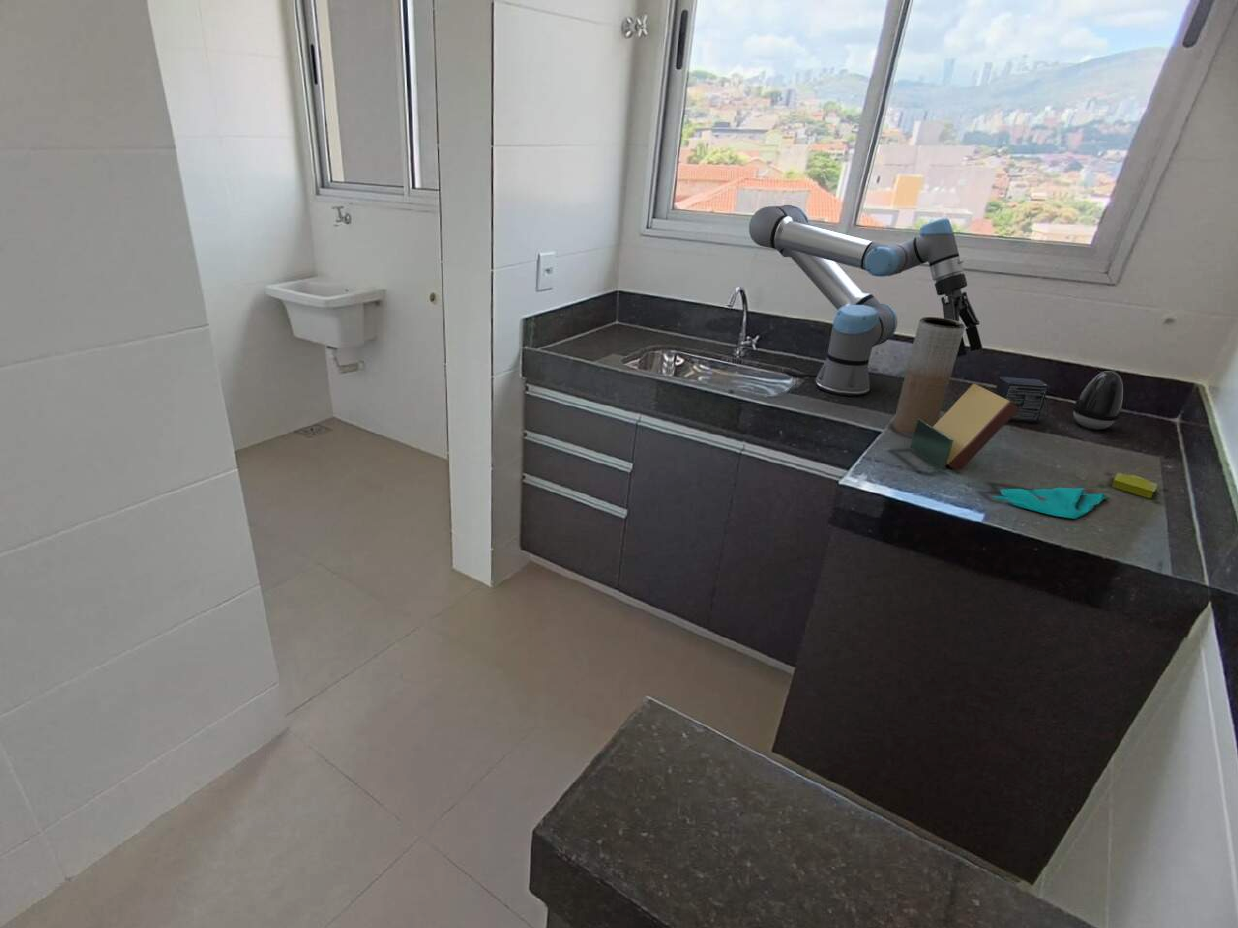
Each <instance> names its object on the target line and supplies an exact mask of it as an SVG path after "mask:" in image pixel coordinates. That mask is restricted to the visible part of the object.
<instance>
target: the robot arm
mask: <svg viewBox="0 0 1238 928" xmlns="http://www.w3.org/2000/svg"><path fill="white" fill-rule="evenodd" d="M808 217H809V216H808V215H807V214H806V212H805V211H804V210H803V209H802V208H801V207H799V206H797V205H792V204H782V205H768V206H764V207H761V208H759V209H758V210H756V211H755V213H753V215H752V216H751V218H750V220H749V224H748V234H749V236H750V239H751V240H752V241H753V242H754V243H755V244H756V245H757V246H760V247H764V248H769V249H773V250H777V252H778V253H779V254H780V255H781V256H782V257H783V258H791V259H792V261H793V262H794V263H795V264H796V265H797V266H798V267H799V269H801V271H802V272H803V273H804V274H805V275H806V276H807V277H808V279H809V280H810V281H811V282H812V283H813V284H814V286H816V287H817V289H818V290H819V291H820V292H821V294H822V295H823V296H824V297H825V298H826V299H827V300H828V302H829V303H830V304H831V305H832V306H833V307H834V308H835V309H836V312H835V314H834V315H835V316H834V318H833V320H832V328H831V334H830V339H829V343H828V349H827V355H826V359H825V361H824V363H823V364H822V366H821V368H820V369H819V372H818V373H797V372H793V371H790V370H786V372H785V374H787V375H790V376H792V377H793V376H794V377H799V378H815V382H814V385H815V387H816V388H818V389H819V390H820V391H823V392H826V393H829V394H833V395H837V396H844V397H861V396H866V395H867V394H869V392H870V388H871V387H870V385H871V384H870V383H871V382H870V375H869V374H870V373H869V361H870V359H871V353H872V350H873V349H872V348H874V347H876V346H879V345H882V344H884V343H886V342H887V341H888V340H889V339H891V338H892V337H893V336H894V334H895V332H896V330H897V327H898V316H897V313H896V312H895V310H894V309H893V308H892V306H889V305H888V304H885V303H881V302H880V301H878V299H877V298H876V297H875V296H874V294H872V293H871V292H870V293H869V292H867V293H866V292H863V291H862V290H861V288H859V286H858V285H857V284H856V283H855V282H854V281H853V280H852V278H851V277H850V276H849V275H848V274H847V273H846V272H845V271H844V270H843V269H842V267H841V266H840V265H839V264H841V265H845V266H849V267H853V268H856V269H860V270H862V271H865V272H868V274H870V275H871V276H874V277H883V278H884V277H891V276H894V275H898V274H901V273H903V272H905V271H908V270H911V269H913V268H915V267H918V266H920V265H924V264H926V263H928V265H929V269H930V272H931V277H932V280H933V281H934V282H935V283H934V287H935V292H936V294H937V296H942V297H941V299H940V300H941V304H942V305H941V306H942V312H943V318H945V319H951V320H955V321H958V322H960V319H961V321H962V323H963V324H964V325H965V327H966V328H964V331H965V333H966V338H967V340H968V345H969V347H970V351H971V352H974V351H977V350H981V349H983V346H982V345H983V344H982V342H981V337H980V334H979V330H978V327H977V326H978V325H980V321H979V320H978V317H977V315H976V313H975V310H974V309H973V305H972V304H971V302H970V300H969V297H968V293H967V291H962V290H961V289H965V288H967V286H968V281H967V278H966V274H965V273H963V271H964V268H963V263H964V259H961V257H960V253H959V249H958V245H957V241H956V236H955V232H954V229H953V227H952V224H951V222H950V220H949V218H947V217H942V218H937V219H935V220H932V221H929V222H927V223H925V224H923V225H922V226H921V227H919V235H917V236H915V237H913V238H911V239H908V240H905V241H903V242H901V243H896V244H889V245H888V244H883V243H880V242H875V241H871V240H868V239H865V238H860V237H855V236H851V235H848V234H844V233H840V232H836V231H832V230H828V229H824V228H820V227H817V226H812V225H810V223H809V221H810V220H809V218H808ZM943 295H944V296H943ZM963 356H968V351H967V347H966V343H965V340H964V336H963V335H962V339H961V342H960V346H959V349H958V353H957V356H956V358H959V357H963Z"/></svg>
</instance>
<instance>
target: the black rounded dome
mask: <svg viewBox="0 0 1238 928" xmlns="http://www.w3.org/2000/svg"><path fill="white" fill-rule="evenodd" d="M1123 385H1124V384H1123V381H1122V378H1121V375H1120V374H1118V373H1117V372H1116V371H1115V370H1111V371H1110V370H1107V371H1103V372H1100V373H1098V374H1097V375H1096V376H1095V377H1093V378H1092V379H1091V381H1090V382H1088V384H1087V385H1086V387H1085V388H1083V390H1082V392H1081V393H1080V395H1079V396H1078V397H1077V399H1076V401H1075V403H1074V405H1073V407H1072V410H1073V419H1074V420H1075V422H1076V423H1077V424H1078V425H1080V426H1081V427H1084V428H1087V429H1090V430H1096V431H1097V430H1099V431H1100V430H1104V429H1107V428H1110V427H1111V426H1112V425H1114V423H1115V422H1116V421H1117V420H1119V418H1120V415H1121V411H1122V407H1123V399H1124V397H1123V396H1124V386H1123Z"/></svg>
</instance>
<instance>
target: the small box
mask: <svg viewBox="0 0 1238 928" xmlns="http://www.w3.org/2000/svg"><path fill="white" fill-rule="evenodd" d="M997 380H998V381H997V383H996V387H995V391H994V392H993V393H994V394H996V395H998V396H1000V397H1002V398H1004V399H1006V400H1008V401H1011V402H1012V403H1013V404H1014V405H1015V406H1016V407H1017V408H1018V409H1019V410H1018V411H1017V412H1016V413H1015V414H1014V415H1013V416H1012V417H1011V418H1010V419H1009V421H1011V422H1023V423H1036V424H1037V423H1038V422H1039V418H1040V415H1041V412H1042V409H1043V405H1044V403H1045V399H1046V397H1047V393H1048V390H1049V388H1050V385H1048V384H1047V383H1045V382H1043V380H1040V379H1037V378H1024V377H1023V378H1022V377H1011V376H1010V377H1009V376H999V377H998V379H997ZM1009 421H1008V422H1009Z"/></svg>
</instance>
